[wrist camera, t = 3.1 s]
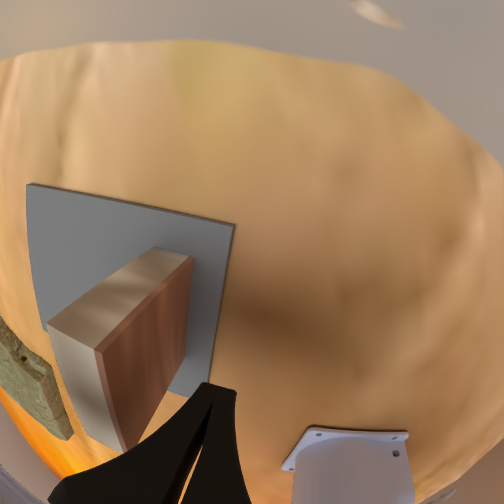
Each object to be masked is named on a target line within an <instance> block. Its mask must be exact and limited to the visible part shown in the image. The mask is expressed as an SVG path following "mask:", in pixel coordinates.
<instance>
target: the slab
mask: <svg viewBox="0 0 504 504" xmlns="http://www.w3.org/2000/svg"><path fill="white" fill-rule="evenodd" d="M194 259H195V258H194V257H190V256H187V255H183V254H179V253H175V252H171V251H167V250H164V249H160V248H156V247H152V248H151V249H149V250H148V251H146V252H145V253H143V254H142V255H140V256H139V257H137V258H136V259H134V260H133V261H131V262H130V263H128V264H127V265H125V266H124V267H122V268H121V269H119V270H118V271H116V272H115V273H113V274H112V275H111V276H109V277H108V278H106V279H105V280H103V281H102V282H101V283H99V284H98V285H96V286H95V287H93V288H92V289H91V290H89V291H88V292H86V293H85V294H84V295H82V296H81V297H80V298H78V299H77V300H75V301H74V302H73V303H71V304H70V305H69V306H67V307H66V308H65V309H63V310H62V311H61V312H59V313H58V314H57V315H55V316H54V317H53V318H52V319H50V320H49V321H48V322H46V326H47V330H48V334H49V338H50V341H51V345H52V348H53V352H54V355H55V358H56V361H57V364H58V367H59V370H60V373H61V376H62V379H63V381H64V384H65V387H66V389H67V392H68V394H69V397H70V399H71V402H72V404H73V406H74V409H75V411H76V413H77V415H78V418H79V420H80V422H81V424H82V426H83V428H84V430H85V432H86V434H87V436H89V437H91V438H93V439H94V440H96V441H98V442H100V443H102V444H104V445H105V446H107V447H109V448H111V449H113V450H115V451H117V452H119V453H121V454H123V453H125V452H126V451H128V450H130V449H131V448H133V447H135V446H136V445H137V444H138V442H139V440H140V438H141V437H142V435H143V433H144V431H145V429H146V427H147V426H148V424H149V422H150V420H151V418H152V416H153V415H154V413H155V411H156V409H157V407H158V406H159V404H160V402H161V400H162V398H163V396H164V395H165V393H166V391H167V389H168V387H169V386H170V384H171V382H172V380H173V378H174V377H175V375H176V373H177V371H178V369H179V368H180V366H181V364H182V362H183V360H184V359H185V347H186V335H187V323H188V313H189V303H190V293H191V284H192V275H193V267H194Z"/></svg>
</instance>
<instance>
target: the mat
mask: <svg viewBox="0 0 504 504" xmlns="http://www.w3.org/2000/svg"><path fill="white" fill-rule="evenodd" d="M26 216H27V235H28V247H29V256H30V264H31V272H32V278H33V284H34V290H35V295H36V301H37V305H38V310H39V314H40V319H41V323H42V327H43V330H44V331H46V332H48V330H47V326H46V322H48V321H49V320H50V319H52V318H53V317H54V316H55V315H57V314H58V313H59V312H61V311H62V310H63V309H65V308H66V307H67V306H69V305H70V304H71V303H73V302H74V301H75V300H77V299H78V298H80V297H81V296H82V295H84V294H85V293H86V292H88V291H89V290H91V289H92V288H93V287H95V286H96V285H98V284H99V283H101V282H102V281H103V280H105V279H106V278H108V277H109V276H111V275H112V274H113V273H115V272H116V271H118V270H119V269H121V268H122V267H124V266H125V265H127V264H128V263H130V262H131V261H133V260H134V259H136V258H137V257H139V256H140V255H142V254H143V253H145V252H146V251H148V250H149V249H151V248H152V247H156V248H160V249H164V250H167V251H171V252H175V253H179V254H183V255H187V256H190V257H194V258H195V259H194V267H193V275H192V284H191V293H190V303H189V313H188V323H187V335H186V347H185V359H184V360H183V362H182V364H181V366H180V368H179V369H178V371H177V373H176V375H175V377H174V378H173V380H172V382H171V384H170V386H169V387H168V389H167V390H168V391H170V392H173V393H176V394H179V395H182V396H185V397H188V398H190V397H191V396H192V395H193V393H194V392H195V391H196V389H197V388H198V387H199V385H200V384H201V383H202V382H207V383H208V380H209V374H210V367H211V361H212V354H213V348H214V342H215V336H216V329H217V323H218V317H219V311H220V305H221V300H222V294H223V288H224V282H225V276H226V271H227V265H228V259H229V254H230V248H231V243H232V237H233V232H234V227H235V225H234V224H229V223H225V222H220V221H216V220H211V219H207V218H202V217H198V216H193V215H189V214H184V213H179V212H175V211H170V210H165V209H161V208H156V207H151V206H146V205H141V204H137V203H132V202H127V201H122V200H117V199H112V198H107V197H102V196H96V195H91V194H86V193H81V192H75V191H70V190H65V189H59V188H54V187H48V186H42V185H37V184H27V185H26Z"/></svg>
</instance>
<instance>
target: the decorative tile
mask: <svg viewBox="0 0 504 504" xmlns="http://www.w3.org/2000/svg"><path fill="white" fill-rule="evenodd" d="M0 386H1V387H2V388H3V389H4V390H5V391H6V393H7V394H8V395H9V396H10V397H11V398H12V399H13V400H15V401H16V402H17V403H18V404H19V405H20V406H21V407H22V408H23V409H24V410H25V411H26V412H28V414H29V415H31V416H32V417H33V418H34V419H35V420H37V421H38V422H39V423H41V424H42V425H43V426H44V427H46V428H47V430H48V431H49V432H50V433H51V434H53V435H54V436H56V437H57V438H59V439H63V440H65V441H67V440H69V439H70V437H71V436H72V435H73V434H74V431H73V429H72V426H71V424H70V421H69V419H68V416H67V413H66V411H65V408H64V405H63V402H62V399H61V396H60V393H59V390H58V387H57V383H56V380H55V376H54V373H53V369H52V368H51V366H50V365H49V364H48V363H47V362H46V361H45V360H44V359H42V358H41V357H40V356H38V355H37V354H35V353H34V352H32V351H30V350H29V349H28V348H27V347H26V346H25V345H24V344H23V343H22V342H21V340H20V339H19V338H18V337H17V336H16V334H15V333H13V332H12V331H11V330H10V329H9V328H8V326H7V325H6V324H5V322H4V321H3V319H2V318H1V316H0Z"/></svg>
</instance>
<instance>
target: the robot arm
mask: <svg viewBox="0 0 504 504" xmlns="http://www.w3.org/2000/svg"><path fill="white" fill-rule="evenodd" d="M236 395H237V392H236V391H235V390H232V389H228V388H224V387H221V386H217V385H213V384H210V383H207V382H202V383H201V384H200V385H199V387H198V388H197V389H196V391H195V392H194V393H193V395H192V396H191V397H190V398H189V399H188V401H187V402H186V403H185V404H184V405H183V406H182V407H181V408H180V409H179V410H178V411H177V412H176V413H175V414H174V415H173V416H172V417H171V418H170V419H169V420H168V421H167V422H166V423H165V424H164V425H162V426H161V427H160V428H159V429H158V430H157V431H155V432H154V433H153V434H152V435H150V436H149V437H148V438H146V439H145V440H144V441H142V442H141V443H139V444H138V445H136V446H135V447H133V448H131V449H130V450H128V451H126V452H125V453H123V454H121V455H120V456H118V457H116V458H114V459H112V460H110V461H108V462H105V463H103V464H101V465H99V466H97V467H94V468H92V469H89V470H86V471H83V472H80V473H77V474H74V475H71V476H67V477H65V478H64V479H63V480H62V481H61V482H60V483H59V484H58V485H57V486H56V487H55V488H54V490H53V491H52V493H51V495H50V496H49V498H48V499H47V500H48V502H49V503H50V504H178V502H179V499H180V496H181V493H182V490H183V487H184V485H185V482H186V480H187V477H188V475H189V473H190V471H191V469H192V466H193V464H194V462H195V460H196V458H197V456H198V454H199V452H200V449H201V447H202V450H201V453H200V456H199V459H198V461H197V464H196V466H195V469H194V472H193V474H192V477H191V479H190V482H189V484H188V487H187V489H186V492H185V494H184V497H183V499H182V502H181V504H252V503H251V501H250V498H249V495H248V492H247V489H246V486H245V482H244V479H243V475H242V471H241V466H240V461H239V456H238V450H237V443H236V432H235V401H236ZM408 437H409V434H408V432H367V431H348V430H336V429H326V428H317V427H311V428H308V429H307V430H306V432H305V433H304V435H303V436H302V438H301V439H300V441H299V442H298V444H297V445H296V446H295V448H294V449H293V451H292V452H291V454H290V455H289V456H288V458H287V459H286V460H285V462H284V463H283V464H282V468H281V469H282V470H285V471H293V472H294V482H293V492H292V502H291V504H414V498H415V490H414V484H413V479H412V474H411V469H410V464H409V459H408V455H407V451H406V446H405V442H404V441H405V440H406V439H407V438H408ZM202 445H203V446H202ZM0 504H44V503H43V502H42V501H40V500H39V499H38V498H37V497H35V496H34V495H33V494H32V493H31V492H29V491H28V490H27V489H26V488H25V487H23V486H22V485H21V484H20V483H19V482H18V481H17V480H15V479H14V478H13V477H12V476H11V475H10V474H9V473H8V472H7V471H6V470H5V469H4V468H3V467H2V465H1V464H0Z"/></svg>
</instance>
